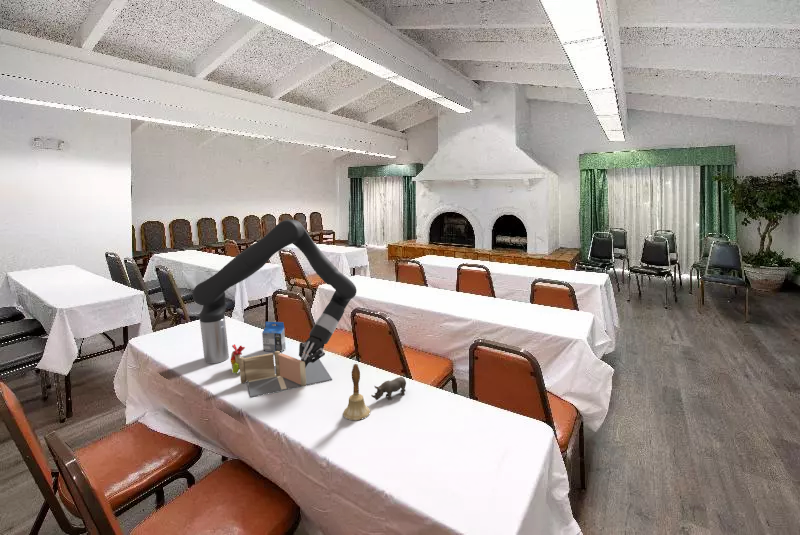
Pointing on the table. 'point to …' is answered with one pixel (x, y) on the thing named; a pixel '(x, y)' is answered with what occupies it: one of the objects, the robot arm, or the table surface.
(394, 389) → the rhino figurine
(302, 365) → the swing fence panel
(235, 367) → the bird rattle
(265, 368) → the fence post section
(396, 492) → the table surface
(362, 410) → the hand bell
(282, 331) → the label tape box
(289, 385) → the card
